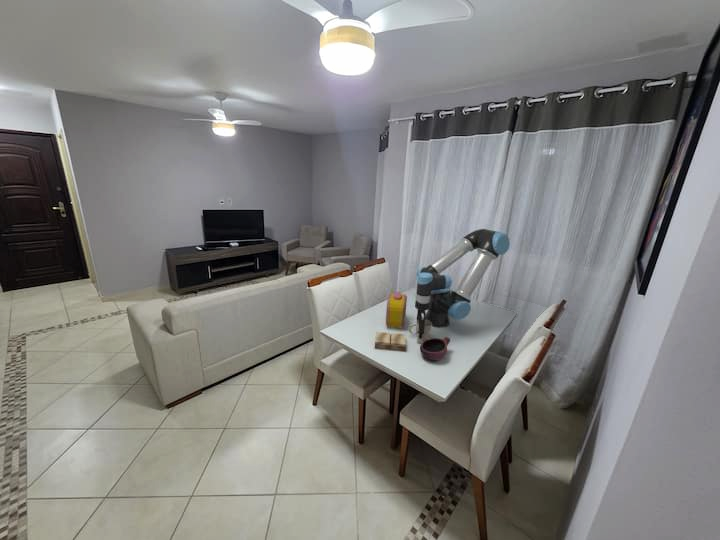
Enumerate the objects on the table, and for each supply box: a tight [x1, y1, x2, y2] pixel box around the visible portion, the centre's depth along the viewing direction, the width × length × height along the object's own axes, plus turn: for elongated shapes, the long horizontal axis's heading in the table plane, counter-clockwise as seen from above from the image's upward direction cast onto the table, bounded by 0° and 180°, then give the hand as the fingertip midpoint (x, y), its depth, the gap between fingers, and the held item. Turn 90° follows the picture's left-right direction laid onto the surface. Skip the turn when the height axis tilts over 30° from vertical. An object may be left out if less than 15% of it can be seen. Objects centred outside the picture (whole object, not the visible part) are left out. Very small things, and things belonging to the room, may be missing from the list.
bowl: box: [419, 336, 451, 361], centre depth 136 cm, size 16×13×8 cm
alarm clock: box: [385, 291, 408, 329], centre depth 165 cm, size 18×11×19 cm, turn 168°
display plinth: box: [374, 331, 407, 353], centre depth 144 cm, size 16×11×4 cm
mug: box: [407, 320, 433, 342], centre depth 150 cm, size 8×13×10 cm, turn 78°
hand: (418, 337), depth 152 cm, fingers open, 9 cm apart
